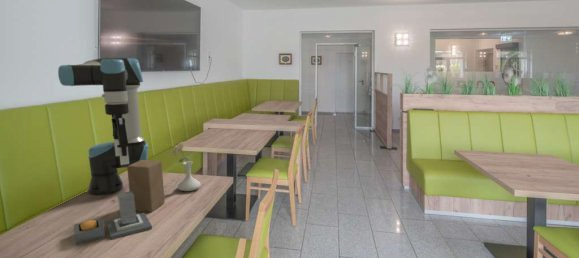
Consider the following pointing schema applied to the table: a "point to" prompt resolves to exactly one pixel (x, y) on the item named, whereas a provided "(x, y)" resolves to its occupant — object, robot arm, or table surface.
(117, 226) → the plate
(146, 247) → the table surface
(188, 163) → the flower in vase
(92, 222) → the button
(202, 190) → the table surface
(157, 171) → the wooden block
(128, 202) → the steel billet
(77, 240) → the button station
